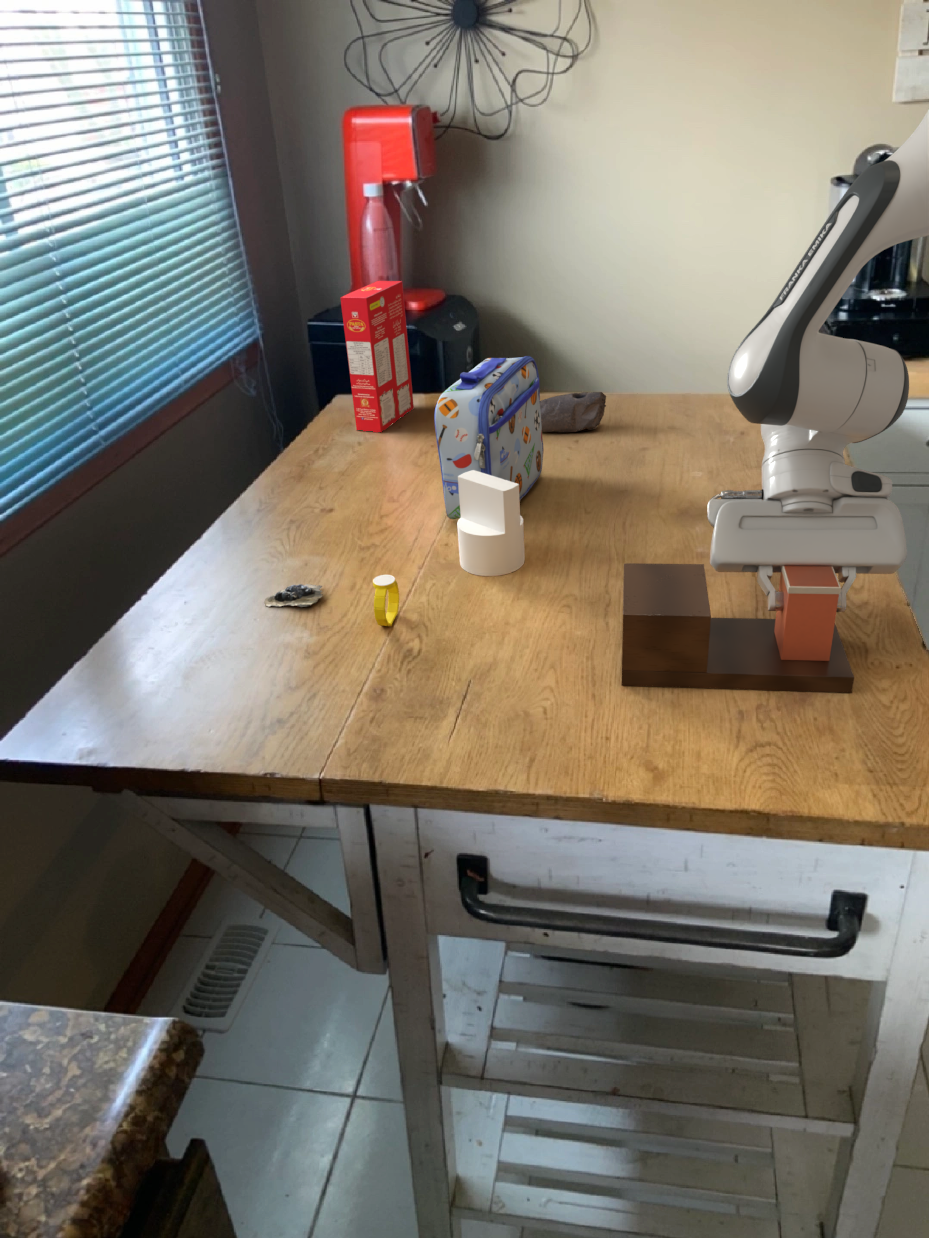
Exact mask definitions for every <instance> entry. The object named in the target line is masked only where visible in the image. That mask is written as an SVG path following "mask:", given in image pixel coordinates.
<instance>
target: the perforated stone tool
mask: <svg viewBox="0 0 929 1238" xmlns="http://www.w3.org/2000/svg"><path fill="white" fill-rule="evenodd" d="M606 401H607V396H606V394H604V392H602V391H591V392H590V391H589V392H587V391H583V392H582V391H581V392H572V393H566V394H560V395H555V396H551V397H547V398H544V399H540V412H541V426H542V433H551V432H555V433H577V432H580V431H583V430H587V431H591V430H596V429H597V427H598V426H599V425H600V424H601V421H602V419H603V417H604V414H605V408H606V407H607V405H606Z"/></svg>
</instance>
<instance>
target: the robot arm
mask: <svg viewBox="0 0 929 1238" xmlns="http://www.w3.org/2000/svg"><path fill="white" fill-rule="evenodd" d="M923 237H929V108H928V109H927V111H926V112H925V115H924V116H923V118H922V119H921V121H920V123H919V124H918V126H917V127H916V128H915V129H914V131H913V132H912V133H911V134H910V136H908V138H906V140H905V141H904V142H903V143H902V144H901V145H900V146H899V147H898V148H897V150H895V151H894V152H893V153H892V154H891V155H889V156H888V157H887V158H886V159H885V160H883V161H880V162H877V163H875V164H872V165H869V166H868V167H866V168H865V169H864V170H863V171H862V172H861V173H860V174H859V175H858V176H857V177H856V178H855V180H854V181H853V182H852V183H851V185H850V186H849V187H848V188H847V190H846V191H845V193H844V194H843V195H842V196H841V199H840V200H839V201H838V203H836V205H835V207H834V208H833V210H832V212H830V214H829V216H828V217H827V219H826V221H825V222H824V223H823V225H822V227H820V229H819V231H818V232H817V234H816V236H815V237H814V239H813V240H812V241H811V244H810V245H809V247H807V250H806V251H805V253H804V254H803V256H802V257H801V259H800V260H799V261H798V263H797V265H796V266H795V268H794V270H793V271H792V273H791V274H790V276H789V277H788V279H787V281H786V282H785V283H784V285H783V287H782V288H781V290H780V292H779V293H778V295H776V297H775V299H774V301H773V302H772V304H771V305H770V307H769V308H768V309H767V311H766V312H765V313H764V315H763V316H762V317H761V318H760V319H759V320H758V322H757V323H756V324H755V325H754V326H753V328H752V329H751V330H750V331H749V332H748V333H747V335H746V336H745V337H744V338H743V339H742V341H741V342H740V343H739V345H738V346H737V348H736V350H735V352H734V353H733V355H732V357H731V361H730V363H729V366H728V370H727V376H726V385H727V390H728V393H729V396H730V398H731V400H732V402H733V404H734V406H735V407H736V409H737V410H738V412H739V413H740V414H741V415H742V416H743V418H745V420H746V421H747V422H749V423H751V424H755V425H760V434H761V435H760V436H761V440H762V442H763V446H764V454H763V457H762V461H761V489H746V490H732V489H727V490H722V491H721V492H720V493H718V494H715V495H713V496H712V497H711V498H710V499H709V501H708V502H707V506H706V507H707V510H706V512H707V514H706V517H707V520H708V524H709V525H710V526H711V527H712V528H713V530H712V535H711V541H710V551H709V564H710V566H711V567H712V568H713V570H715V572H717V573H756V582H757V584H758V585H759V587H760V588H761V591H762V592H763V593H764V594H765V596H766V597H767V610H768V612H776V611H782V609H783V608H784V601H783V599H784V592H779V591H777V590H776V588H775V586H774V585H773V583H772V582H771V579H772V577H773V574H774V573H775V574H779V573H780V574H781V567H780V565H785V566H833V569H834V571H835V574H838V577H837V579H838V581H839V583H842V586H840V587H841V592H840V594H839V597H838V604H837V611H836V613H844V612H845V611H846V610H847V593H849V590H850V588H851V587H852V585H853V583H854V581H855V580H856V578H857V574H859V575H861V574H863V575H864V574H865V575H874V574H876V575H892V574H895V573H896V572H897V571H898V570H899V569H900V568H901V567H902V566H903V565H904V564H905V562H906V560H907V556H908V546H907V538H906V532H905V527H904V521H903V517H902V514H901V511H900V509H899V508H898V506H897V504H895V502H894V501H892V500H890V497H891V494H892V491H893V481H892V479H891V478H890V477H888V476H885V475H883V474H880V473H877V472H872V471H868V470H865V469H862V468H859V467H855V466H852V465H850V464H846V461H845V457H844V451H845V448H847V446H849V445H850V444H858V443H862V442H865V441H867V440H869V439H872V438H874V437H876V436H877V435H880V434H881V433H883V432H884V431H886V430H888V429H889V428H891V426H893V425H894V424H895V423H896V422H897V421H898V420H899V419H900V417H901V416H902V415H903V413H904V412H905V409H906V407H907V404H908V399H909V393H910V375H909V369H908V367H907V364H906V361H905V359H904V358H903V356H902V355H901V353H899V351H898V350H896V349H894V348H889V347H887V346H885V345H880V344H877V343H873V342H869V341H863V340H858V339H854V338H845V337H844V338H843V337H841V336H835V335H831V334H827V333H822V332H819V331H820V329H821V328H822V326H823V325H824V323H825V322H826V321H827V320H828V318H829V316H830V315H831V313H832V312H833V310H834V309H835V307H836V306H837V305H838V303H839V302H840V301H841V299H842V297H843V296H844V294H845V293H846V292H847V290H848V288H849V287H850V285H851V284H852V283H853V282H854V280H855V278H856V277H857V275H859V273H860V271H861V270H862V269H863V267H864V266H865V265H866V264H867V263H868V262H869V261H870V260H871V259H873V258H875V256H877V255H879V254H880V253H881V252H883V251H884V250H887V249H889V248H891V247H893V246H896V245H897V244H898V245H899V244H901V243H905V242H908V241H912V240H916V239H919V238H923Z"/></svg>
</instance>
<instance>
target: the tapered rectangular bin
mask: <svg viewBox="0 0 929 1238" xmlns="http://www.w3.org/2000/svg"><path fill="white" fill-rule="evenodd" d="M780 567H781V573H780V575H779V576H780V578H779V583H778V592H784V599H783V601H784V608H783V609H782V611H775V612H776V613H775V619H776V620H775V629H774V633H775V637H776V641H777V645H778V649H779V653H780V657H781V660H810V661H829V659H830V652H831V645H832V639H833V632H834V625H836V617H837V612H836V611H837V604H838V597H839V594H840V592H841V587H842V586H841V584H840V582H839V579H838V577H837V573H835V571H834V569H833V566H785V565H780Z"/></svg>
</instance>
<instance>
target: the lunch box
mask: <svg viewBox="0 0 929 1238" xmlns="http://www.w3.org/2000/svg"><path fill="white" fill-rule="evenodd" d="M540 390H541V389H540V374H539V370H538V365H537V363H536V361H535V359H534V358H533V357H532V356H531V355H525V356H521V357H509V358H508V357H486V358H485V359H484V360H483V361H481V362H480V363H478V364H477V365H476V366H475V367H474V368H472V369H471V370H470V371H468V372H465V371H463V372H460V375H459V379H458V380H456V381H455V382H454V383H452V385H450V386H449V387H448V388H446V389H445V390H444V391H443V392H442V393H441V394H440V396H439V397H438V400H437V401H436V405H435V409H434V416H433V417H434V429H435V438H436V439H435V440H436V446H437V447H436V448H437V454H438V460H439V467H440V474H441V482H442V491H443V492H442V493H443V500H444V507H445V512H446V515H447V518H449V519H450V520H459V519H460V518H461V515H460V501H459V487H458V476H459V475H461V474H463V473H465V472H468V471H471V470H475V471H478V472H482V473H485V474H488V475H491V476H495V477H498V478H501V479H504V480H507V481H511V482H514V483H517V484H519V501H520V502H521V500H522V499H523V498H524V497H525V496H526V495H527V494H528V493H529V491H530V489H532V487H533V486H534V484H535V483H536V482H537V480H538V479H539V477H540V475H541V474H542V470H543V463H544V439H543V432H542V426H541V412H540V401H541V391H540Z"/></svg>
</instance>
